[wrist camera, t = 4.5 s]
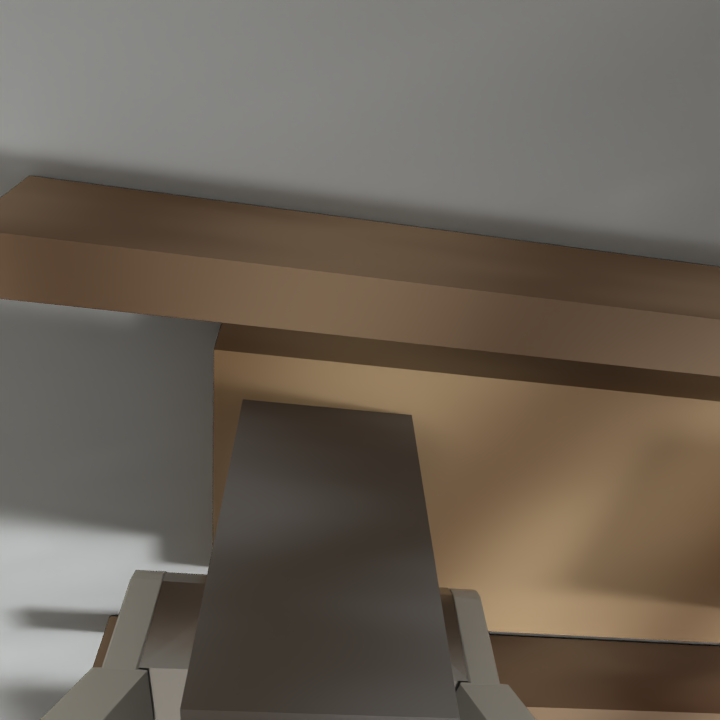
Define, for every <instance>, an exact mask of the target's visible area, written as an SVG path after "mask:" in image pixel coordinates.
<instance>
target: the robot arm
mask: <svg viewBox="0 0 720 720" xmlns="http://www.w3.org/2000/svg"><path fill="white" fill-rule="evenodd" d="M206 579H207V575H205V574H188V573H171V572H166V571H145V570H136V571H135V572H134V574H133V576H132V578H131V579H130V582H129V585H128V588H127V591H126V594H125V597H124V600H123V603H122V606H121V610H120V613H119V616H118V619H117V622H116V625H115V628H114V631H113V634H112V637H111V640H110V643H109V647H108V650H107V653H106V656H105V659H104V662H103V665H102V667H92V668H91V669H90V670H89V671H88V672H87V673H86V674H85V675H84V676H83V677H82V678H81V679H80V680H79V681H78V682H77V683H76V684H75V685H74V686H73V687H72V688H71V689H70V690H69V691H68V692H67V693H66V694H65V695H64V696H63V697H62V698H61V699H60V700H59V701H58V702H57V703H56V704H55V705H54V706H53V707H52V708H51V709H50V710H49V711H48V712H47V713H46V714H45V715H44V716H43V717H42V718H41V719H40V720H181V718H180V707H181V702H182V697H183V692H184V687H185V682H186V677H187V672H188V667H189V662H190V657H191V653H192V648H193V643H194V638H195V633H196V628H197V623H198V618H199V613H200V608H201V603H202V598H203V593H204V588H205V583H206ZM439 590H440V597H441V603H442V609H443V616H444V622H445V628H446V635H447V641H448V647H449V654H450V660H451V666H452V673H453V679H454V685H455V692H456V698H457V704H458V711H459V717H460V719H459V720H536V719H535V718H534V716H533V715H532V714H531V713H530V711H529V710H528V709H527V707H526V706H525V705H524V704H523V702H522V701H521V700H520V699H519V697H518V696H517V695H516V694H515V692H514V691H513V690H512V689H511V687H510V686H509V685H508V684H500V681H499V677H498V672H497V668H496V663H495V659H494V654H493V650H492V646H491V641H490V637H489V632H488V628H487V623H486V619H485V614H484V610H483V605H482V601H481V597H480V595H479V594H478V592H477V591H476V590H473V589H453V588H444V587H439Z"/></svg>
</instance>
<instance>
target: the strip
mask: <svg viewBox="0 0 720 720" xmlns="http://www.w3.org/2000/svg"><path fill="white" fill-rule="evenodd" d="M439 587H444V588H453V589H473V590H476V591H477V592H478V594H479V595H480V597H481V601H482V605H483V610H484V614H485V619H486V623H487V628H488V631H495V632H515V633H535V634H555V635H574V636H594V637H614V638H634V639H653V640H673V641H693V642H713V643H720V377H719V376H710V375H701V374H692V373H682V372H673V371H664V370H655V369H645V368H636V367H627V366H618V365H609V364H599V363H590V362H581V361H572V360H562V359H553V358H544V357H535V356H526V355H516V354H507V353H498V352H489V351H479V350H470V349H461V348H452V347H443V346H433V345H424V344H415V343H406V342H396V341H387V340H378V339H369V338H360V337H350V336H341V335H332V334H323V333H314V332H304V331H295V330H286V329H277V328H267V327H258V326H249V325H240V324H231V323H222V324H221V327H220V330H219V334H218V337H217V340H216V344H215V347H214V402H213V549H212V554H211V559H210V564H209V569H208V574H207V579H206V583H205V588H204V593H203V598H202V603H201V608H200V613H199V618H198V623H197V628H196V633H195V638H194V643H193V648H192V653H191V657H190V662H189V667H188V672H187V677H186V682H185V687H184V692H183V697H182V702H181V707H180V718H181V720H459V719H460V717H459V711H458V704H457V698H456V692H455V685H454V679H453V673H452V666H451V660H450V654H449V647H448V641H447V635H446V628H445V622H444V616H443V609H442V603H441V597H440V590H439Z"/></svg>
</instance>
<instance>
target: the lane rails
mask: <svg viewBox="0 0 720 720" xmlns="http://www.w3.org/2000/svg"><path fill="white" fill-rule="evenodd" d="M0 299H9V300H18V301H28V302H37V303H46V304H55V305H65V306H74V307H83V308H92V309H101V310H111V311H120V312H129V313H138V314H148V315H157V316H166V317H175V318H184V319H194V320H203V321H212V322H221V323H231V324H240V325H249V326H258V327H267V328H277V329H286V330H295V331H304V332H314V333H323V334H332V335H341V336H350V337H360V338H369V339H378V340H387V341H396V342H406V343H415V344H424V345H433V346H443V347H452V348H461V349H470V350H479V351H489V352H498V353H507V354H516V355H526V356H535V357H544V358H553V359H562V360H572V361H581V362H590V363H599V364H609V365H618V366H627V367H636V368H645V369H655V370H664V371H673V372H682V373H692V374H701V375H710V376H719V377H720V267H716V266H709V265H701V264H693V263H686V262H678V261H671V260H663V259H656V258H648V257H641V256H633V255H625V254H618V253H610V252H603V251H595V250H588V249H580V248H572V247H565V246H557V245H550V244H542V243H535V242H527V241H520V240H512V239H504V238H497V237H489V236H482V235H474V234H467V233H459V232H452V231H444V230H436V229H429V228H421V227H414V226H406V225H399V224H391V223H383V222H376V221H368V220H361V219H353V218H346V217H338V216H331V215H323V214H315V213H308V212H300V211H293V210H285V209H278V208H270V207H263V206H255V205H247V204H240V203H232V202H225V201H217V200H210V199H202V198H194V197H187V196H179V195H172V194H164V193H157V192H149V191H142V190H134V189H126V188H119V187H111V186H104V185H96V184H89V183H81V182H74V181H66V180H58V179H51V178H43V177H36V176H28V177H27V178H26V179H24V180H23V181H22V182H20V183H19V184H18V185H17V186H15V187H14V188H13V189H11V190H10V191H9V192H8V193H6V194H5V195H4V196H2V197H1V198H0ZM117 619H118V617H116V616H110V617H109V620H108V623H107V626H106V629H105V632H104V635H103V638H102V641H101V644H100V647H99V650H98V653H97V656H96V659H95V662H94V665H93V667H102V665H103V662H104V659H105V656H106V653H107V650H108V647H109V643H110V640H111V637H112V634H113V631H114V628H115V625H116V622H117ZM489 637H490V641H491V646H492V650H493V654H494V659H495V663H496V668H497V672H498V677H499V681H500V684H508V685H509V686H510V687H511V689H512V690H513V691H514V692H515V694H516V695H517V696H518V697H519V699H520V700H521V701H522V702H523V704H524V705H525V706H526V707H527V709H528V710H529V711H530V713H531V714H532V715H533V716H534V718H535V719H536V720H720V647H719V646H699V645H679V644H659V643H639V642H619V641H599V640H579V639H558V638H538V637H518V636H498V635H489Z"/></svg>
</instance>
